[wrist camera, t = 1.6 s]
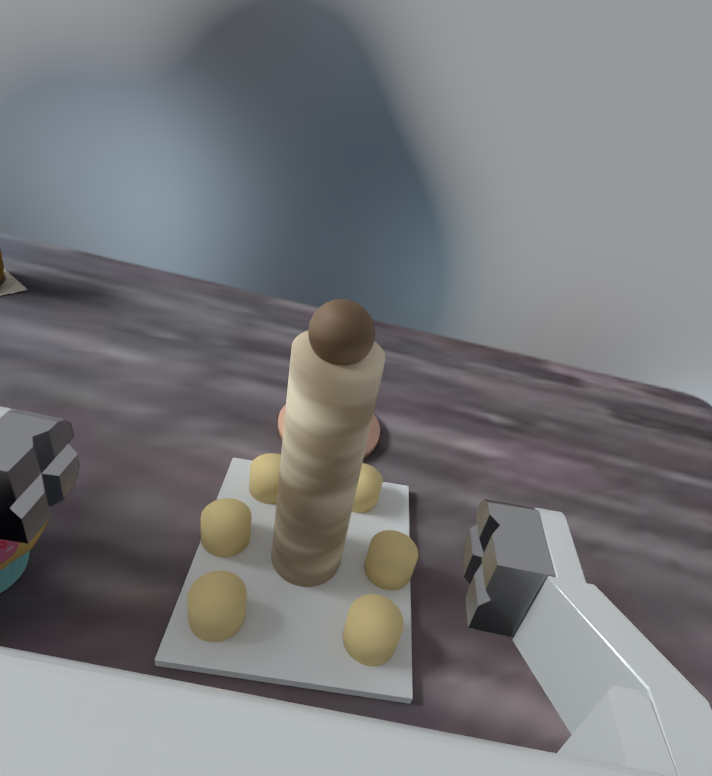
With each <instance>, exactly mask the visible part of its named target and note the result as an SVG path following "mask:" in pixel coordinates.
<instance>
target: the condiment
mask: <svg viewBox="0 0 712 776" xmlns="http://www.w3.org/2000/svg"><path fill="white" fill-rule="evenodd" d="M0 286H1V287H0V296H1V295H5V294H12V293H16V292H20V291H25V290H27V289H26V288H25V287H24V286H23V285H22V284H21V283H20V282H19V281H18V280H17V279H15V278H14V277H13V276H12V275H11V274H9V273H8V272H7V271H6V270H5V269H4V266H3V261H2V254H1V250H0Z"/></svg>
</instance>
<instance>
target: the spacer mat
mask: <svg viewBox="0 0 712 776" xmlns="http://www.w3.org/2000/svg"><path fill="white" fill-rule="evenodd" d="M280 462H281V455H280V454H275V453H268V454H263V455H260V456H258V457H257V458H255V459H254V460H253V461H251V460H245V459H239V458H233V459H232V462H231V464H230V467H229V469H228V472H227V474H226V477H225V480H224V482H223V485H222V487H221V490H220V492H219V495H218V498H217V500H216V501H213V502H211V503H210V504H208V505H207V506H206V507H205V508H204V510H203V511H202V514H201V541H200V544H199V547H198V549H197V552H196V554H195V557H194V559H193V562H192V565H191V567H190V570H189V572H188V575H187V578H186V580H185V583H184V585H183V588H182V590H181V593H180V596H179V598H178V601H177V603H176V606H175V608H174V611H173V614H172V616H171V619H170V621H169V624H168V627H167V629H166V632H165V634H164V637H163V639H162V642H161V645H160V647H159V650H158V652H157V655H156V657H155V666H160V667H166V668H173V669H180V670H187V671H193V672H200V673H207V674H213V675H220V676H227V677H233V678H240V679H247V680H254V681H260V682H267V683H274V684H280V685H287V686H294V687H300V688H307V689H314V690H321V691H327V692H334V693H341V694H347V695H354V696H361V697H367V698H374V699H381V700H387V701H394V702H401V703H408V704H410V703H411V701H412V699H413V693H412V642H411V591H410V579H411V576H412V573H413V571H414V568H415V565H416V562H417V559H418V549H417V547H416V545H415V543H414V542H413V540H412V539H411V538H410V537H409V490H408V486H404V485H398V484H392V483H386V482H383V479H382V476H381V474H380V473H379V471H378V470H377V469H375V468H374V467H372V466H370V465H368V464H364V463H362V467H361V472H360V476H359V481H358V485H357V490H356V495H355V499H354V504H353V508H352V513H351V517H350V522H349V526H348V531H347V535H346V540H345V544H344V549H343V553H342V558H341V563H340V566H339V569H338V571H337V573H336V574H335V575H334V576H333V577H332V578H331V579H330V580H329V581H327V582H325V583H323V584H321V585H318V586H313V587H302V586H297V585H294V584H291V583H289V582H287V581H285V580H284V579H283V578H282V577H280V576H279V575H278V573H277V572H276V571H275V569H274V567H273V564H272V559H271V553H272V543H273V533H274V523H275V512H276V502H277V492H278V482H279V472H280Z"/></svg>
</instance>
